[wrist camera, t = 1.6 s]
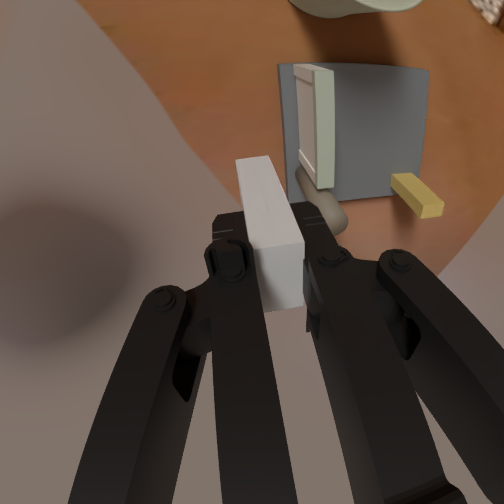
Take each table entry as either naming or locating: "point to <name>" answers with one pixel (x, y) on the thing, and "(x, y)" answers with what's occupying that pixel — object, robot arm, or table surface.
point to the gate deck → (364, 139)
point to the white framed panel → (316, 122)
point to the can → (352, 6)
